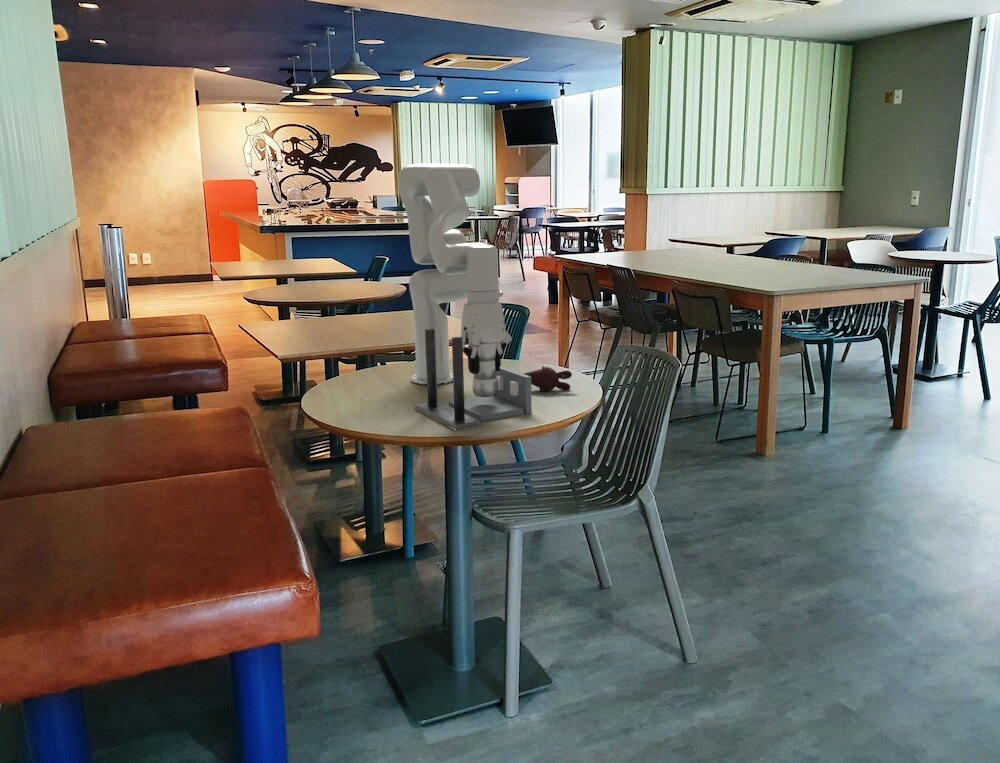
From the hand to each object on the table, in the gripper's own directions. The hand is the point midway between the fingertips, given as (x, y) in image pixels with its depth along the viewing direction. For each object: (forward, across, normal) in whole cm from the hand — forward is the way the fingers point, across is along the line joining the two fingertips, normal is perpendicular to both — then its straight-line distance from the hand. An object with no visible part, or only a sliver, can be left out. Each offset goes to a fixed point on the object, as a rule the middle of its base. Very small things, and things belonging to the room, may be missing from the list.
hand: (484, 370), depth 194 cm
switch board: (+10, -1, 0) cm, 10 cm away
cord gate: (+10, +11, 0) cm, 15 cm away
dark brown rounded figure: (+10, -23, -9) cm, 27 cm away
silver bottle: (+7, 0, 0) cm, 7 cm away
